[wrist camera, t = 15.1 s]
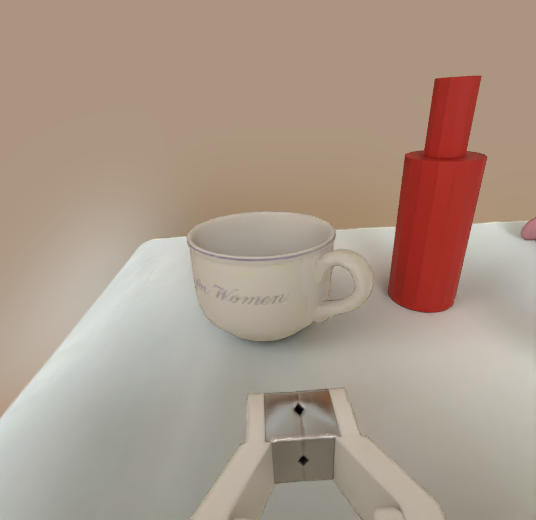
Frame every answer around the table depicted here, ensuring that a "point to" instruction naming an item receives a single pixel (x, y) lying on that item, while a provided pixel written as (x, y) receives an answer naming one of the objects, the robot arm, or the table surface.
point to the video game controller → (529, 230)
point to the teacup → (271, 273)
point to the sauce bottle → (437, 202)
